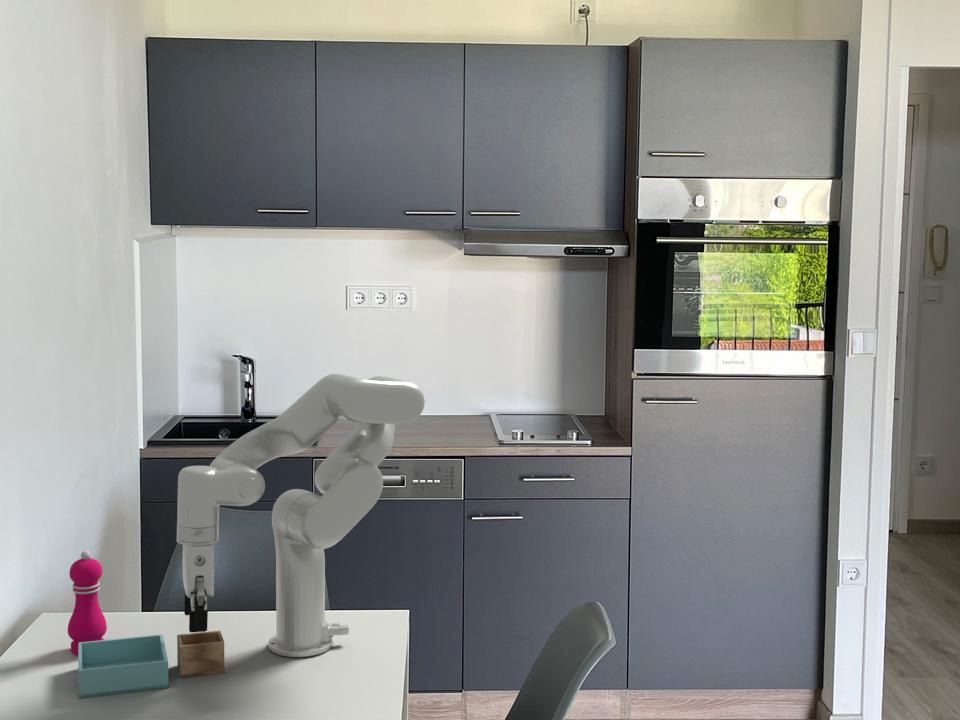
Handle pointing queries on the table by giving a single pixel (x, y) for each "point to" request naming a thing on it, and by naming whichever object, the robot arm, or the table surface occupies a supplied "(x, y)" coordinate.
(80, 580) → the pepper mill
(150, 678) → the big crate
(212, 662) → the small crate
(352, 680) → the table surface
